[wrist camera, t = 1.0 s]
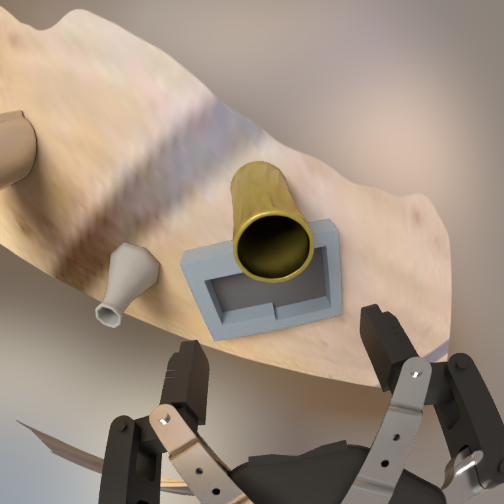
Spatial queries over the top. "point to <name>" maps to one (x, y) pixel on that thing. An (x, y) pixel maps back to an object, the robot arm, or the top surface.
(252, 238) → the vase
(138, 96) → the top surface
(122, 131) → the top surface
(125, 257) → the flask
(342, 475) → the robot arm
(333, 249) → the keyhole board
